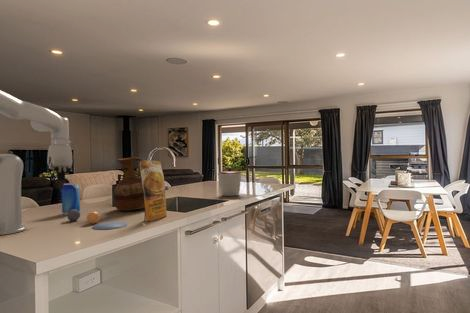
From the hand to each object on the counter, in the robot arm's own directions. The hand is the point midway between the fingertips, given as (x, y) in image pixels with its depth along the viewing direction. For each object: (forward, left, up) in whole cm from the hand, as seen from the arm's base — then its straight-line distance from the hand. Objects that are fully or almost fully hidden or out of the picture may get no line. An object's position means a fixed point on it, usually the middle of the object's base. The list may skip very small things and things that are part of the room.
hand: (61, 180), depth 145 cm
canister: (+87, -69, -19) cm, 113 cm away
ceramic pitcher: (+27, -23, -19) cm, 41 cm away
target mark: (-12, -32, -19) cm, 39 cm away
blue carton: (+13, +5, -19) cm, 24 cm away
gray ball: (-3, -9, -16) cm, 19 cm away
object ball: (-8, -22, -16) cm, 28 cm away
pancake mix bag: (+4, -45, -19) cm, 50 cm away
